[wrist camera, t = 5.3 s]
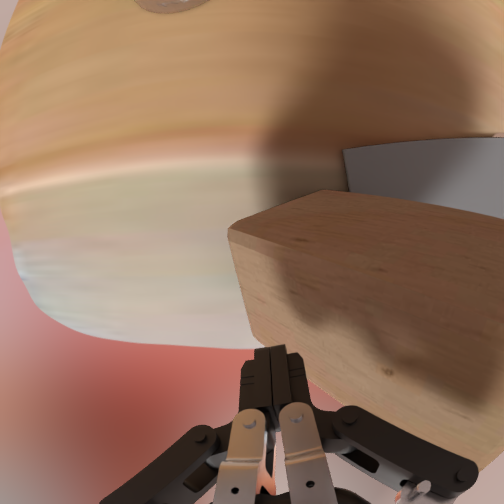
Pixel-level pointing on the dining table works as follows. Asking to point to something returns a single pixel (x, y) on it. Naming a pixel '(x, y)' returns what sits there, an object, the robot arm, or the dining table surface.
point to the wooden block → (386, 309)
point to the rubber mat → (433, 172)
